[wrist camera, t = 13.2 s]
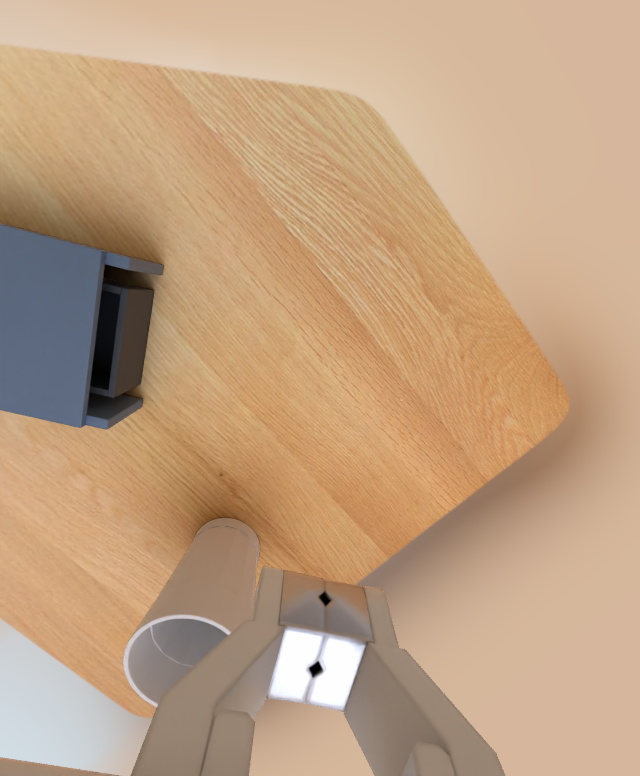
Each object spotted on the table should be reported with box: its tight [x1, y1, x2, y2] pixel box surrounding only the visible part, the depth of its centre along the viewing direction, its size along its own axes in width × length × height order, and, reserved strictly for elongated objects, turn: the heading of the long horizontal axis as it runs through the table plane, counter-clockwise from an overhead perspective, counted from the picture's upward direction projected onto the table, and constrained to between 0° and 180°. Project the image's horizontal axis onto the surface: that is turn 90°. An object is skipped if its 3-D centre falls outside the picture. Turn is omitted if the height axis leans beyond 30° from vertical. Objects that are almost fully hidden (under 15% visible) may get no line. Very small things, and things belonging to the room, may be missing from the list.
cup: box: [123, 518, 260, 707], centre depth 30 cm, size 8×8×12 cm
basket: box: [89, 278, 154, 398], centre depth 29 cm, size 10×8×4 cm
